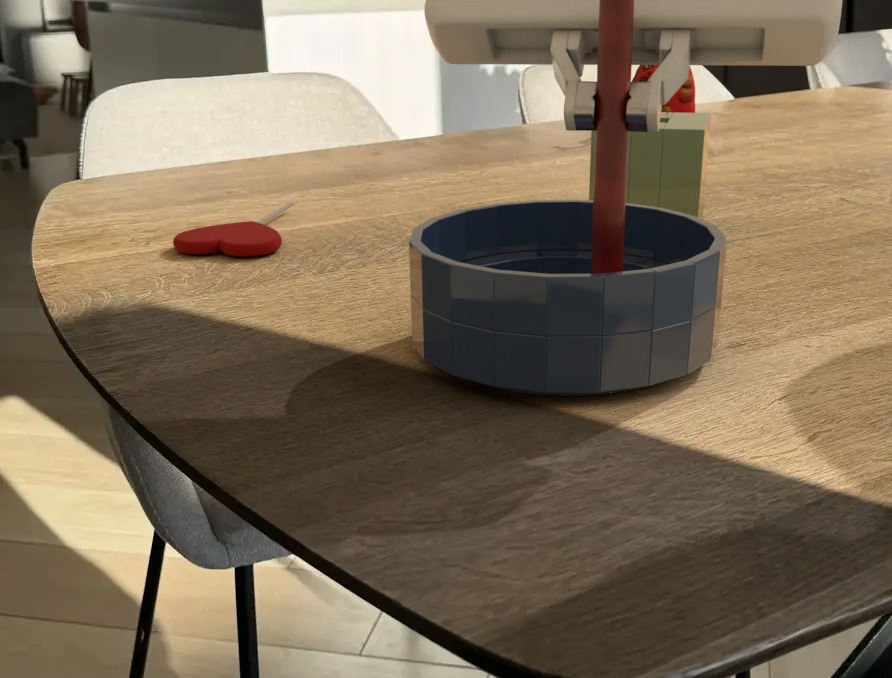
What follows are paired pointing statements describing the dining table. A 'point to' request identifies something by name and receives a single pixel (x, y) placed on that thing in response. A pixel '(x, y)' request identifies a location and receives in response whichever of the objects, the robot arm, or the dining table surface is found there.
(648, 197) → the block
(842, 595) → the dining table surface
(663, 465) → the dining table surface
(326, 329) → the dining table surface
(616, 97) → the stirring stick
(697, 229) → the bowl
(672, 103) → the red clay folk toy
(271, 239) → the lollipop
